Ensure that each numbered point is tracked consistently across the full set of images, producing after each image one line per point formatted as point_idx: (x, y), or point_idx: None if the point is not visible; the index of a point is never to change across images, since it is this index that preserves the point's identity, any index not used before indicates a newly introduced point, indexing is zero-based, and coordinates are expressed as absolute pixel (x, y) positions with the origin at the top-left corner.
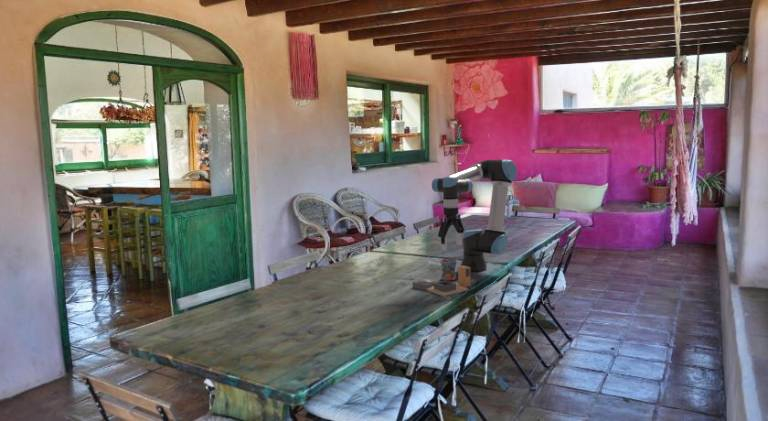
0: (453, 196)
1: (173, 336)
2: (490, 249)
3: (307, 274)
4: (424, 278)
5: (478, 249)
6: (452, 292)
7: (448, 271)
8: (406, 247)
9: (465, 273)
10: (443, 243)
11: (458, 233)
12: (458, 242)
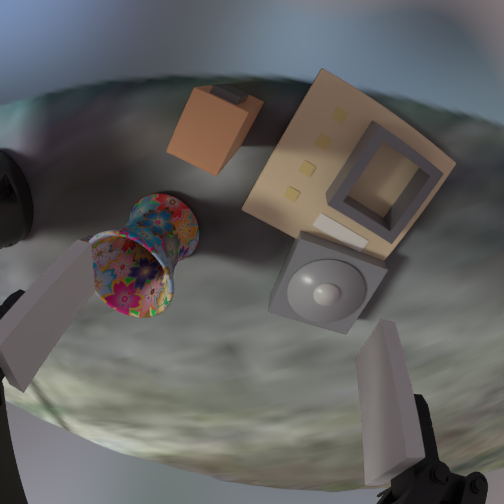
0: None
1: None
2: None
3: (283, 485)
4: (277, 311)
5: None
6: (414, 129)
7: (173, 239)
8: (8, 386)
9: (247, 105)
10: (424, 400)
11: (14, 368)
12: (76, 288)
